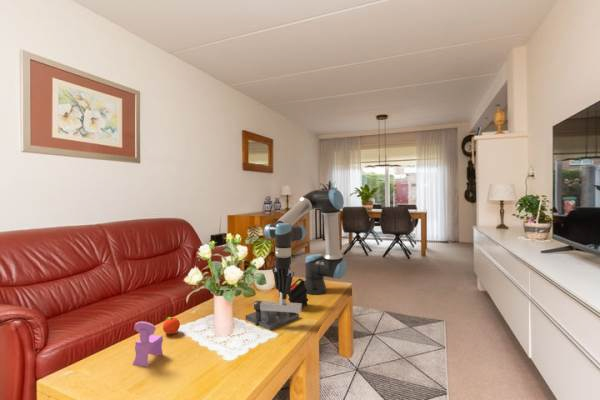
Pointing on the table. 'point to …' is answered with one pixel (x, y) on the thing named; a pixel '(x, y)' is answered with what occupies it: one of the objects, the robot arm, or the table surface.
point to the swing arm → (278, 306)
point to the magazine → (298, 293)
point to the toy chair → (146, 343)
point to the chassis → (271, 318)
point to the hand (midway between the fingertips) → (282, 305)
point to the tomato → (171, 325)
